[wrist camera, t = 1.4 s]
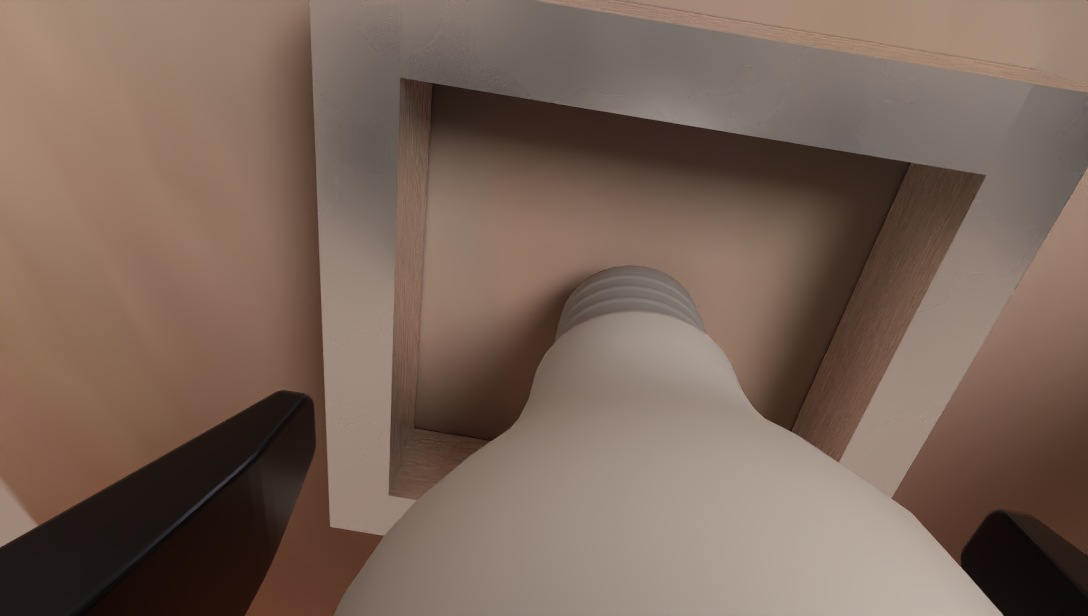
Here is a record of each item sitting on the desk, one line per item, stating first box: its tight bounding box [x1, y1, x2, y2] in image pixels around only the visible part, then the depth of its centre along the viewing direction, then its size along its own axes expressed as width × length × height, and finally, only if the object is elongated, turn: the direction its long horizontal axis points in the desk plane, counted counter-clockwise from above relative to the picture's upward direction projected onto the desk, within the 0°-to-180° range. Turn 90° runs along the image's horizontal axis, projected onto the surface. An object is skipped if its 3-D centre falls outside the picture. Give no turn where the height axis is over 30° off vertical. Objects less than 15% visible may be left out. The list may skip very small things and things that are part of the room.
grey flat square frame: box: [309, 0, 1088, 536], centre depth 12 cm, size 10×10×2 cm
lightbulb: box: [333, 266, 1003, 616], centre depth 8 cm, size 6×6×11 cm
